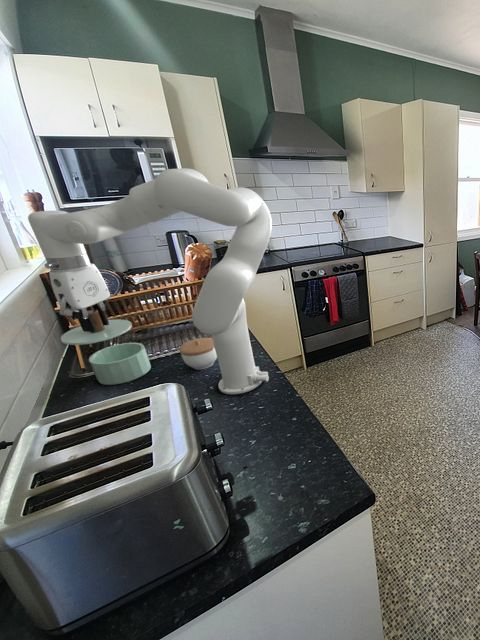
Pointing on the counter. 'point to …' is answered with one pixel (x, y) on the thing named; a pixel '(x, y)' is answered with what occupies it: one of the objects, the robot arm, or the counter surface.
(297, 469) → the counter surface
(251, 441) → the counter surface
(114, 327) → the bowl lid
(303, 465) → the counter surface
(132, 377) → the bowl
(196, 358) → the trinket box
